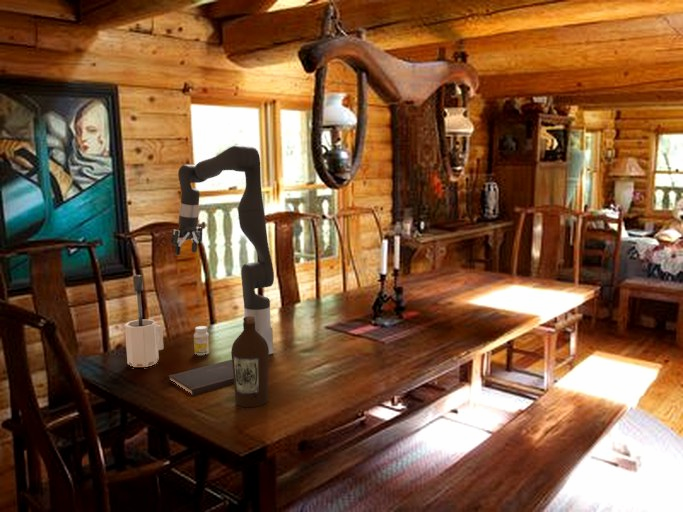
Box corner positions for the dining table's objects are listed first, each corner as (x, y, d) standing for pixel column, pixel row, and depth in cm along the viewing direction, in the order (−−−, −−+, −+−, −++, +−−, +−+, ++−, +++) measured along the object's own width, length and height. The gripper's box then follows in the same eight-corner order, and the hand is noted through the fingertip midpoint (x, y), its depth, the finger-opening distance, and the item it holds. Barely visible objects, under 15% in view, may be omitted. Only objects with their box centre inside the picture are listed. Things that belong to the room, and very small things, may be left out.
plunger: (155, 329, 203) (152, 275, 200) (137, 333, 198) (133, 278, 195) (144, 325, 208) (141, 273, 205) (126, 330, 203) (122, 276, 200)
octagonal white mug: (170, 361, 207) (168, 321, 205) (138, 371, 198) (135, 329, 196) (154, 355, 214) (152, 316, 211) (122, 364, 205) (119, 323, 202)
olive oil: (240, 393, 179) (237, 312, 175) (274, 394, 177) (272, 313, 173) (228, 407, 169) (224, 322, 165) (264, 409, 167) (261, 323, 163)
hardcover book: (169, 382, 190) (168, 375, 189) (232, 365, 204) (232, 359, 204) (192, 397, 178) (192, 390, 177) (257, 378, 192) (257, 371, 192)
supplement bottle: (203, 356, 213) (202, 330, 211) (191, 354, 215) (190, 328, 213) (212, 351, 217) (211, 326, 216) (200, 350, 220) (199, 324, 218)
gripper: (181, 218, 231) (178, 258, 235) (208, 215, 242) (205, 253, 246) (168, 213, 234) (165, 253, 239) (195, 211, 246) (192, 248, 250)
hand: (185, 253), depth 242 cm, fingers open, 8 cm apart
